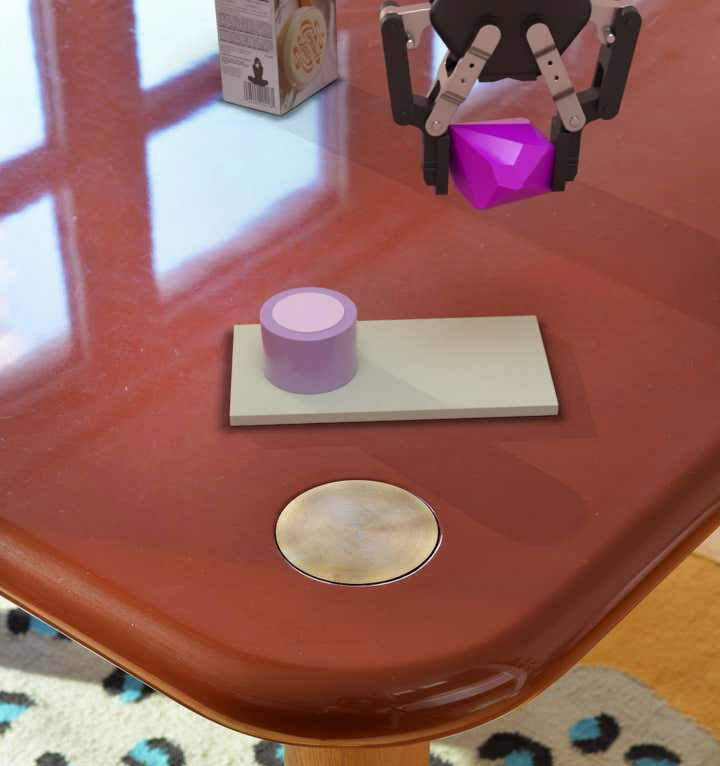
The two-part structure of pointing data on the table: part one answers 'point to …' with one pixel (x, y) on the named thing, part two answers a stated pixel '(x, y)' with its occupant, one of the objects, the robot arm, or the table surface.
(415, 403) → the board
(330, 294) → the lavender cylindrical tub
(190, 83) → the table surface
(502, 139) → the crystal
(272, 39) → the cookie box
